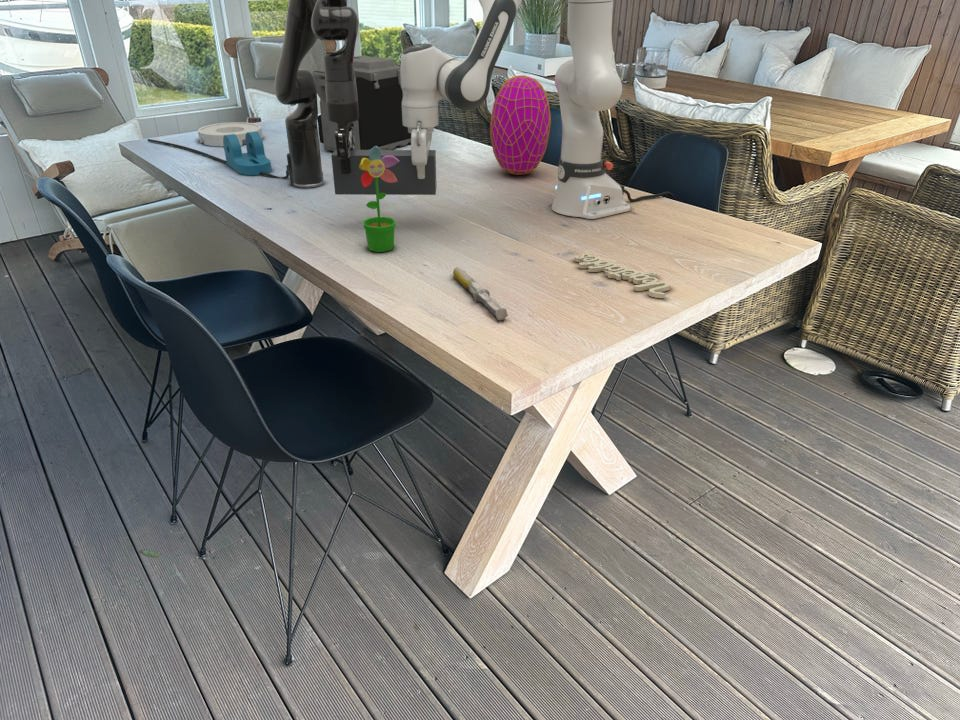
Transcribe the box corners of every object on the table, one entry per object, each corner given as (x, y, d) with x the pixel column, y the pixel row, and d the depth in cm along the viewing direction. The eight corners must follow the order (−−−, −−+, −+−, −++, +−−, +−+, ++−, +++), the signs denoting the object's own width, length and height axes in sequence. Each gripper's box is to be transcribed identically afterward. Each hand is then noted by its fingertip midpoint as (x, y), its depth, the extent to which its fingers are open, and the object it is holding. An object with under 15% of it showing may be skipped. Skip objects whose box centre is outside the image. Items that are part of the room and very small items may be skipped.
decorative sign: (686, 282, 150) (660, 295, 144) (686, 286, 150) (659, 300, 144) (592, 249, 166) (565, 259, 160) (592, 253, 167) (565, 263, 161)
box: (335, 194, 173) (331, 155, 168) (338, 187, 178) (335, 149, 173) (435, 194, 174) (434, 155, 169) (436, 188, 179) (435, 150, 174)
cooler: (383, 133, 276) (378, 52, 261) (425, 141, 265) (422, 56, 250) (314, 150, 251) (304, 61, 235) (358, 160, 240) (350, 67, 224)
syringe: (449, 274, 155) (449, 263, 153) (465, 272, 156) (464, 260, 154) (490, 323, 135) (491, 310, 133) (508, 319, 136) (508, 307, 134)
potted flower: (369, 256, 164) (361, 149, 151) (358, 245, 170) (349, 142, 157) (406, 249, 167) (401, 145, 155) (394, 239, 173) (388, 138, 161)
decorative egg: (522, 185, 216) (526, 83, 200) (477, 173, 227) (478, 76, 212) (559, 173, 228) (566, 76, 213) (514, 162, 239) (517, 70, 224)
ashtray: (212, 132, 275) (211, 121, 273) (270, 133, 274) (268, 122, 272) (190, 145, 255) (187, 134, 253) (251, 147, 254) (250, 135, 252)
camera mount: (227, 164, 233) (221, 132, 227) (257, 160, 238) (252, 129, 233) (244, 176, 220) (239, 143, 215) (276, 172, 225) (271, 139, 220)
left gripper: (353, 105, 158) (359, 178, 167) (361, 94, 171) (366, 162, 179) (320, 105, 158) (328, 177, 167) (331, 94, 171) (337, 162, 179)
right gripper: (431, 126, 158) (432, 186, 165) (435, 109, 176) (436, 163, 183) (403, 126, 158) (406, 186, 165) (410, 109, 176) (412, 163, 183)
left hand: (348, 169), depth 173 cm, fingers closed on box, 5 cm apart
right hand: (422, 174), depth 174 cm, fingers closed on box, 6 cm apart
